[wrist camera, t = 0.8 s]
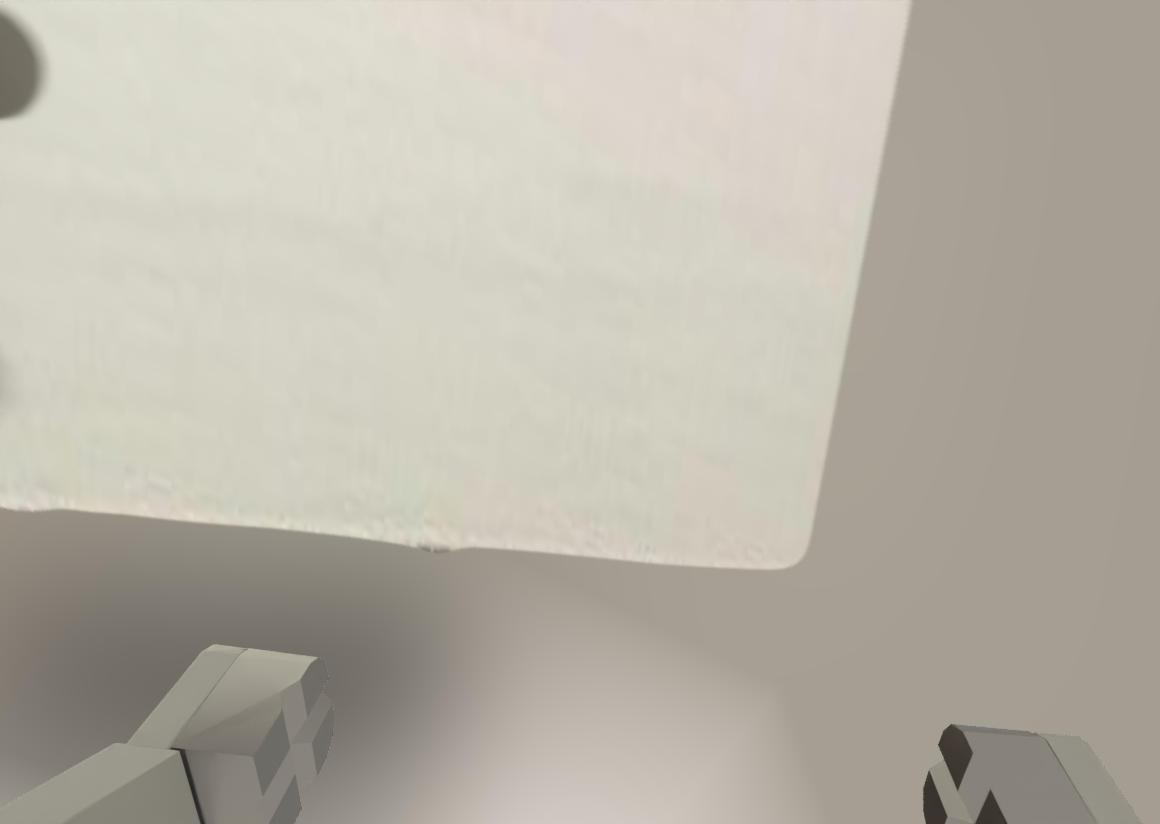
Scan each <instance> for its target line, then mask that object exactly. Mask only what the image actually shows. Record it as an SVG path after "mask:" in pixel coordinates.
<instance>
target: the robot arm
mask: <svg viewBox="0 0 1160 824" xmlns="http://www.w3.org/2000/svg"><path fill="white" fill-rule="evenodd" d="M328 679H329V677H328V672H327V667H326V663H325V660H323V659H320V658H318V657H310V656H303V655H295V654H288V653H280V652H273V651H265V650H258V649H251V648H249V649H246V648H238V647H230V646H223V645H216V644H214V645H212V646H211V647H209V648H207V649H205V650H204V651H202V652H201V653H200V655H199V656H198V657H197V658H196V659H195V661H194V662H193V663H192V664H191V665H190V667H189V668H188V669H187V671H186V672H185V673H184V674H183V675H182V676H181V678H180V679H179V680H178V681H177V683H176V684H175V685H174V686H173V688H172V689H171V690H170V691H169V692H168V694H167V695H166V696H165V697H164V698H163V700H162V701H161V702H160V703H159V705H158V706H157V707H156V708H155V710H154V711H153V712H152V713H151V714H150V716H149V717H148V718H147V719H146V720H145V722H144V723H143V724H142V725H141V727H140V728H139V729H138V730H137V731H136V733H135V734H134V735H133V736H132V738H131V739H130V740H129V741H128V742H127V744H120V743H114V744H112V745H111V746H109V747H107V748H105V749H103V750H102V751H100V752H98V753H97V754H95V755H93V756H91V757H90V758H88V759H86V760H84V761H82V762H80V763H79V764H77V765H75V766H73V767H72V768H70V769H68V770H66V771H65V772H63V773H61V774H59V775H57V776H56V777H54V778H52V779H50V780H49V781H47V782H45V783H43V784H42V785H40V786H38V787H36V788H34V789H33V790H31V791H29V792H27V793H26V794H24V795H22V796H20V797H19V798H17V799H15V800H14V801H11V802H10V803H8V804H6V805H4V806H3V807H1V808H0V824H294V823H295V821H296V819H297V817H298V815H299V813H300V811H301V809H302V807H301V802H300V796H299V790H300V789H302V788H303V787H304V786H306V785H307V784H308V783H310V782H311V781H313V780H314V779H315V778H317V777H318V774H319V772H320V770H321V768H322V766H323V764H324V762H325V760H326V758H327V754H328V751H329V747H330V743H331V740H332V736H333V728H334V711H333V704H332V702H331V701H330V700H329V699H328V698H327V697H326V696H325V695H324V694H323V693H322V690H323V688H324V686H325V685H326V683H327V680H328ZM938 746H939V748H940V751H941V753H942V755H943V758H944V760H943V761H941V762H940V763H938V764H937V765H935V766H934V767H932V768H931V769H929V771H928V775H927V778H926V781H925V784H924V788H923V812H924V817H925V822H926V824H1142V822H1141V821H1140V819H1139V818H1138V816H1137V815H1136V813H1135V812H1134V810H1133V809H1132V807H1131V806H1130V804H1129V803H1128V801H1127V800H1126V798H1125V797H1124V796H1123V794H1122V792H1121V791H1120V790H1119V788H1118V787H1117V785H1116V784H1115V782H1114V781H1113V779H1112V778H1111V776H1110V775H1109V773H1108V772H1107V770H1106V769H1105V767H1104V766H1103V764H1102V763H1101V761H1100V760H1099V758H1098V757H1097V755H1096V754H1095V752H1094V751H1093V750H1092V748H1091V747H1090V745H1089V744H1088V743H1086V742H1085V741H1084V740H1082V739H1081V738H1080V737H1077V736H1067V735H1057V734H1047V733H1037V732H1036V733H1031V732H1029V731H1019V730H1008V729H997V728H987V727H976V726H966V725H955V724H951V725H949V726H948V727H947V728H946V729H945V730H944V731H943V734H942V736H941V738H940V741H939V744H938Z"/></svg>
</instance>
